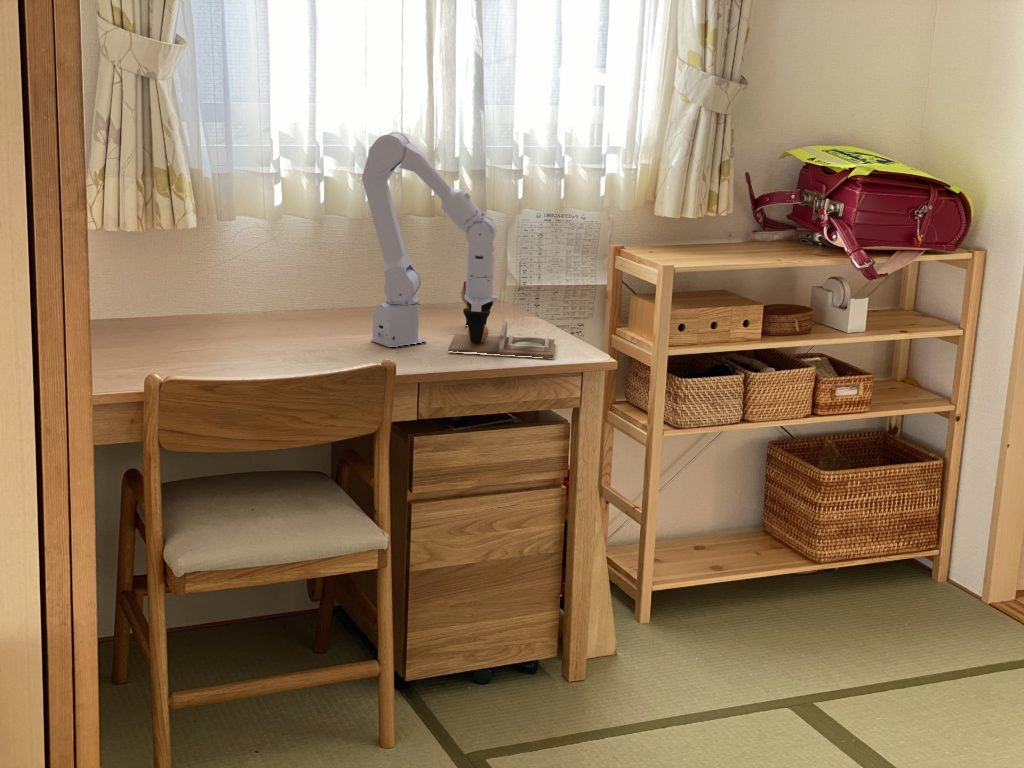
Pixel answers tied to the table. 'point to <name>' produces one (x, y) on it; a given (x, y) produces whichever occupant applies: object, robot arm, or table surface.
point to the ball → (485, 333)
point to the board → (505, 345)
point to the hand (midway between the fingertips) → (477, 338)
